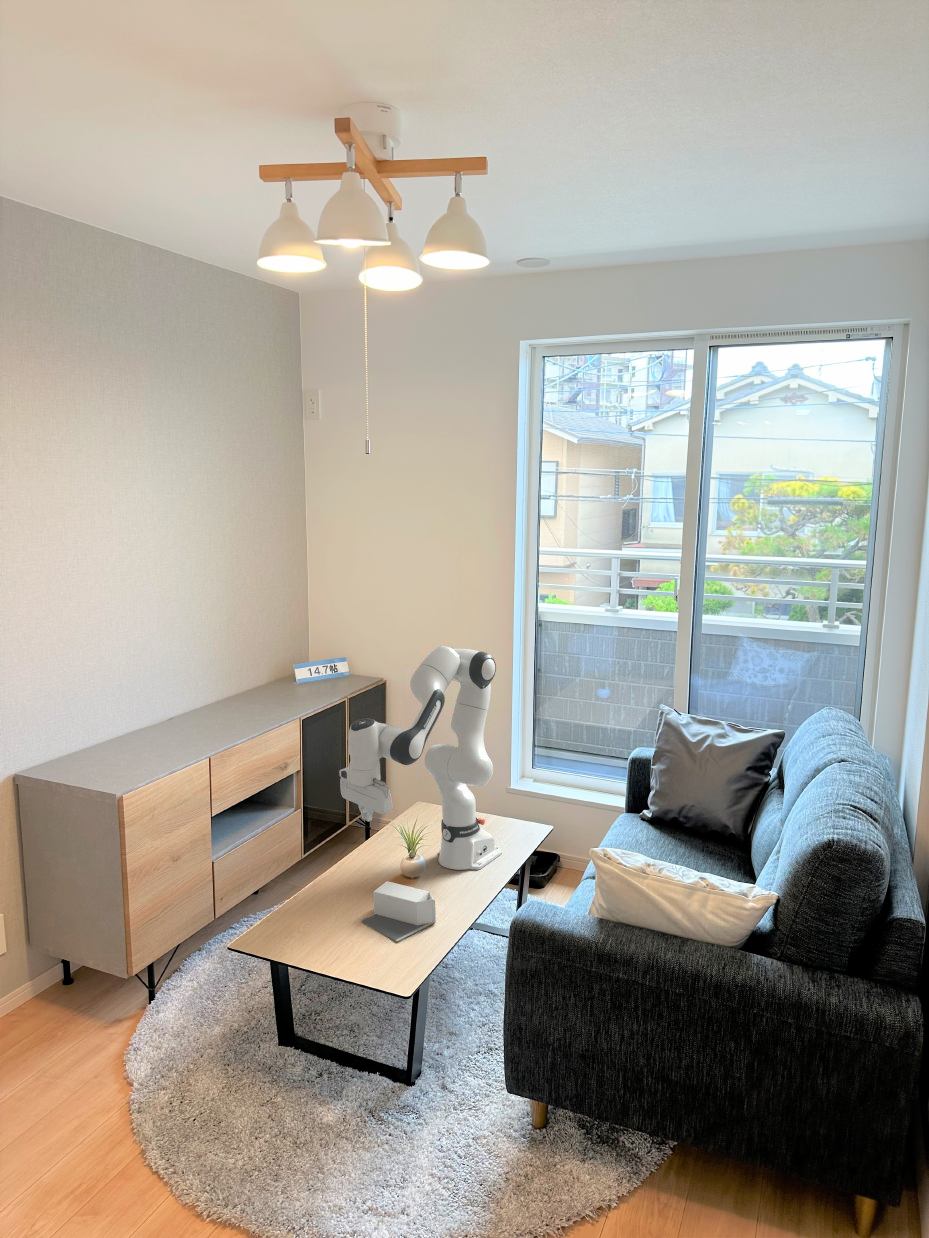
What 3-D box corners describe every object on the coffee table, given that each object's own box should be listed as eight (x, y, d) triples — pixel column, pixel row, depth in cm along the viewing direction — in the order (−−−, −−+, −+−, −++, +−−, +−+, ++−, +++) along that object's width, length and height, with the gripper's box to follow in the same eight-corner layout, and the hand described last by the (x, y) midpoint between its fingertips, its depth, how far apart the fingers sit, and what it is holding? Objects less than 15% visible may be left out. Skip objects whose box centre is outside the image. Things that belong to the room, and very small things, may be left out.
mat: (398, 904, 249) (398, 902, 249) (434, 923, 238) (434, 921, 238) (361, 921, 239) (361, 920, 239) (397, 942, 228) (397, 941, 228)
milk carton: (373, 913, 243) (429, 928, 234) (372, 891, 242) (428, 905, 233) (387, 902, 249) (441, 917, 240) (386, 880, 248) (441, 894, 239)
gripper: (396, 780, 236) (398, 826, 238) (352, 764, 250) (354, 807, 253) (379, 786, 231) (381, 833, 234) (335, 769, 246) (337, 813, 248)
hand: (367, 819), depth 243 cm, fingers closed
